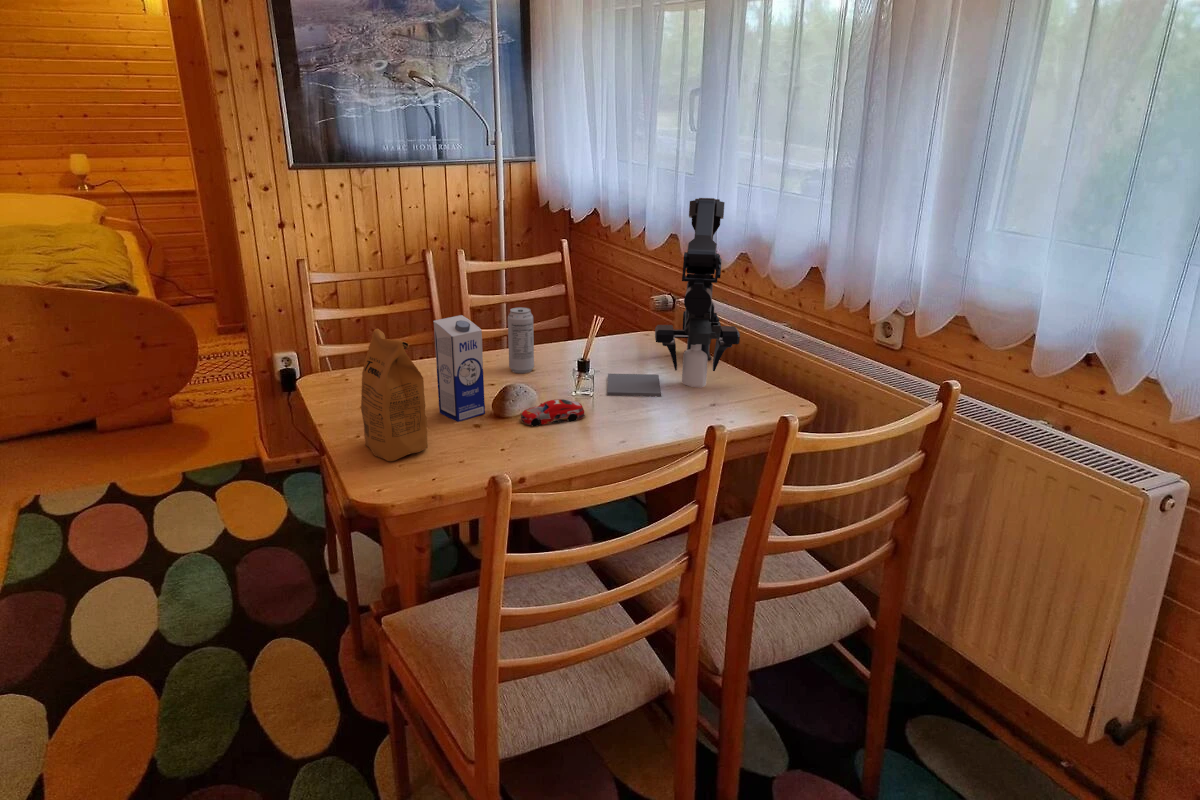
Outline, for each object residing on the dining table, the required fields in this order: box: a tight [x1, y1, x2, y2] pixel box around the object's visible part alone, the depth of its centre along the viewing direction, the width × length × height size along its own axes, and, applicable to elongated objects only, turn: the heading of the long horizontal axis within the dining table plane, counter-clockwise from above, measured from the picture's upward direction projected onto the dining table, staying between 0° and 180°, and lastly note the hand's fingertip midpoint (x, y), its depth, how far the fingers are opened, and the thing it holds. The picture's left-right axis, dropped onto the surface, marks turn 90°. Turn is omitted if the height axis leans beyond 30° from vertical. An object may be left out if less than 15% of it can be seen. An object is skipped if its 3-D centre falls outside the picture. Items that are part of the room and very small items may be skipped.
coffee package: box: [360, 328, 429, 462], centre depth 140 cm, size 10×12×22 cm
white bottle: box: [681, 344, 709, 389], centre depth 178 cm, size 4×6×12 cm
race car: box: [520, 398, 586, 427], centre depth 158 cm, size 13×5×4 cm, turn 109°
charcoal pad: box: [606, 373, 662, 398], centre depth 178 cm, size 13×12×1 cm
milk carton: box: [433, 314, 486, 423], centre depth 158 cm, size 7×7×20 cm
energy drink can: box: [507, 306, 535, 374], centre depth 185 cm, size 6×6×15 cm
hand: (694, 370), depth 179 cm, fingers closed on white bottle, 8 cm apart
